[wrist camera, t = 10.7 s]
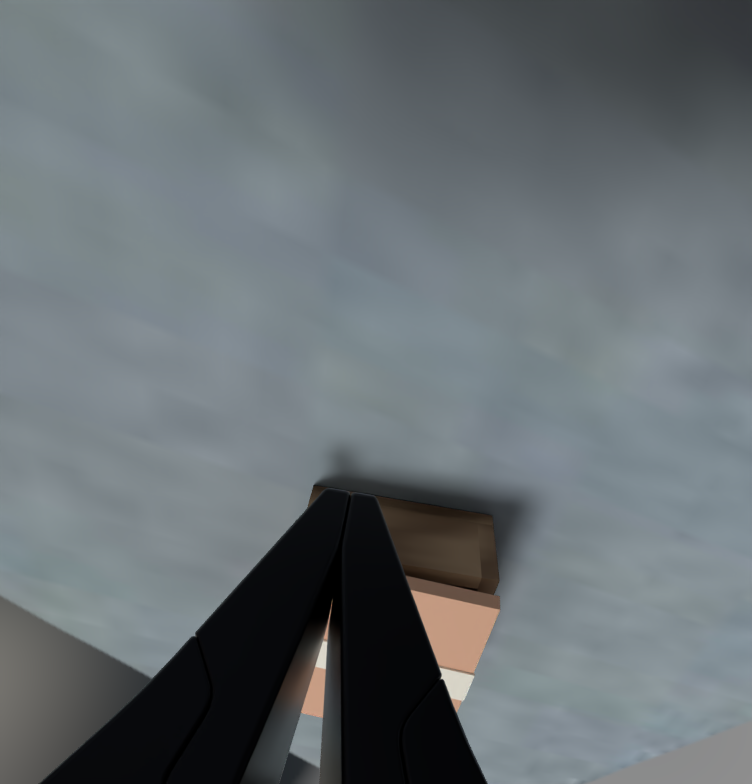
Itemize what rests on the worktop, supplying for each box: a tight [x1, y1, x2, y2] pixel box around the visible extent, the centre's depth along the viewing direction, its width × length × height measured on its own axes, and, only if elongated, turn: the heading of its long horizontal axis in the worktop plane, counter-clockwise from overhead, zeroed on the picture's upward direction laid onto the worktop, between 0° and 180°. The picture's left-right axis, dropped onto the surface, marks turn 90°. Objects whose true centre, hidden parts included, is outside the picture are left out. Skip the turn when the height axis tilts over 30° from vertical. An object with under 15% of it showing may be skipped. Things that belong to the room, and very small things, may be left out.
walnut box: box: [307, 485, 499, 595], centre depth 26 cm, size 8×13×4 cm
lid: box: [301, 576, 500, 718], centre depth 24 cm, size 8×11×1 cm
